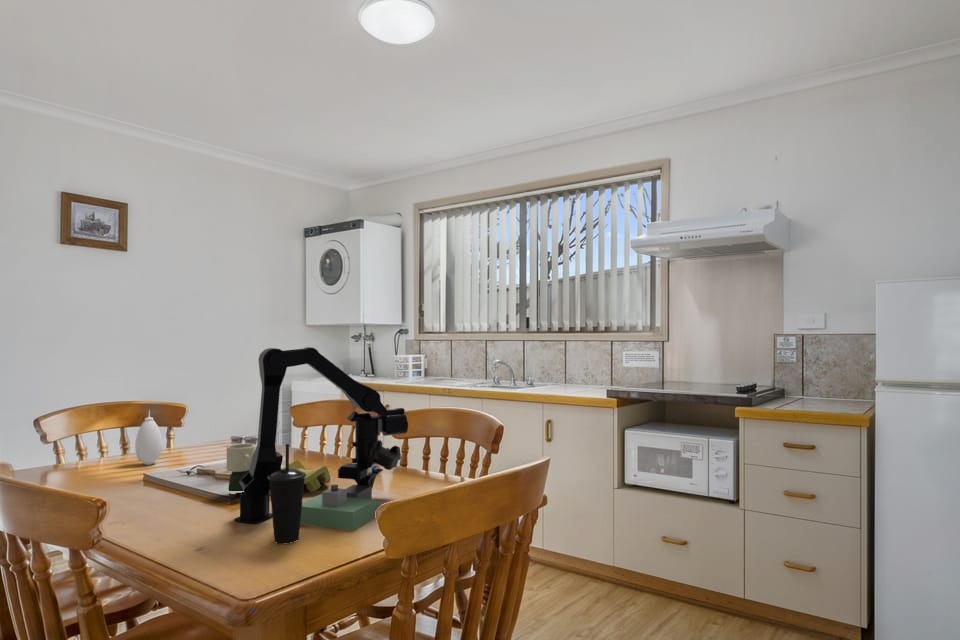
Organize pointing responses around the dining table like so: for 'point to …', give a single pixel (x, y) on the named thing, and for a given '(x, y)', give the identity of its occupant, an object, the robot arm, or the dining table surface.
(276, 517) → the drinking cup
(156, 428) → the white bulb air blower
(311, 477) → the plastic component
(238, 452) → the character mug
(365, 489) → the charcoal rectangular prism
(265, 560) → the dining table surface
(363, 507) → the green base with blocks
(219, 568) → the dining table surface
